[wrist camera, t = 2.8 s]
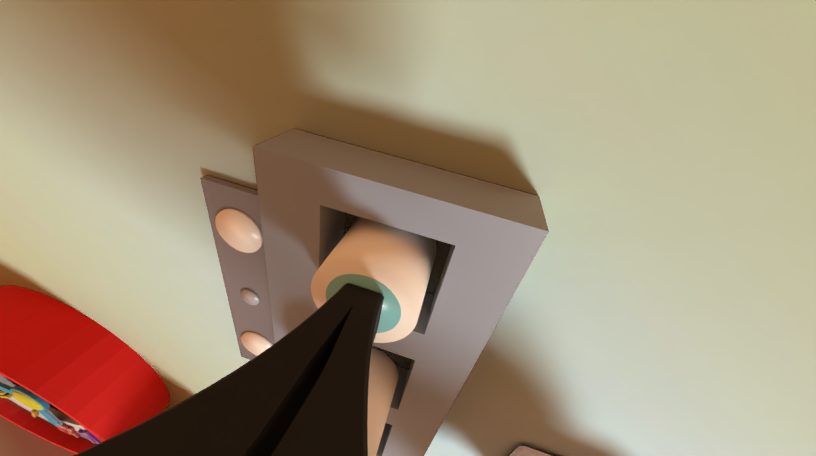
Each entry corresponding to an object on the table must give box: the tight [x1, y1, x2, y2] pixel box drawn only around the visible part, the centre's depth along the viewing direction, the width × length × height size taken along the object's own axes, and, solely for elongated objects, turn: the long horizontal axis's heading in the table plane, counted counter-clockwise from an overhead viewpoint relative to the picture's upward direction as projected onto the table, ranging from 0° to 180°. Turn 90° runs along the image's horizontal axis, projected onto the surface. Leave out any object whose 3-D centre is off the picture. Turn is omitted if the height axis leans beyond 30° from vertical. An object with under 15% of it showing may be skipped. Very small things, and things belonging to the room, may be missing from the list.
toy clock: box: [0, 286, 170, 454], centre depth 30 cm, size 20×6×20 cm
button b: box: [367, 347, 399, 456], centre depth 14 cm, size 4×4×4 cm
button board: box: [253, 129, 549, 456], centre depth 17 cm, size 10×22×2 cm, turn 169°
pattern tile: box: [201, 175, 275, 360], centre depth 18 cm, size 4×15×1 cm, turn 169°
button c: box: [311, 217, 437, 343], centre depth 12 cm, size 4×4×4 cm
